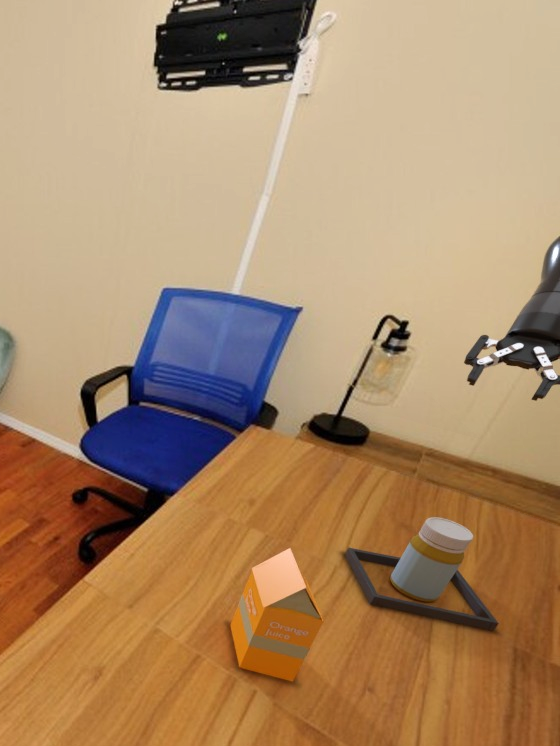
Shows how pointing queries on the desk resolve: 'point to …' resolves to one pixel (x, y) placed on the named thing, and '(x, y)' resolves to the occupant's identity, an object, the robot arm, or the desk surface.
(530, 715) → the desk surface
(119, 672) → the desk surface
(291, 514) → the desk surface
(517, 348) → the robot arm
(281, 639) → the orange juice
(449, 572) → the bottle
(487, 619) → the dark rectangular frame
